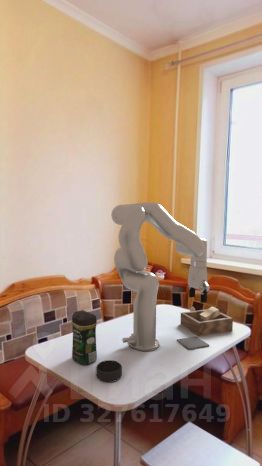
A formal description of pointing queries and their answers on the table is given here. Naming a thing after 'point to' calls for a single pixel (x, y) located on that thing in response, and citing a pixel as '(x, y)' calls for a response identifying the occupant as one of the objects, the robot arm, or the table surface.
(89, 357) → the coffee jar
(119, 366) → the black round bowl
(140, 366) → the table surface
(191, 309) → the pacifier
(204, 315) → the tan rectangular block
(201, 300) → the robot arm
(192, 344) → the rubber mat
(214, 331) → the block
